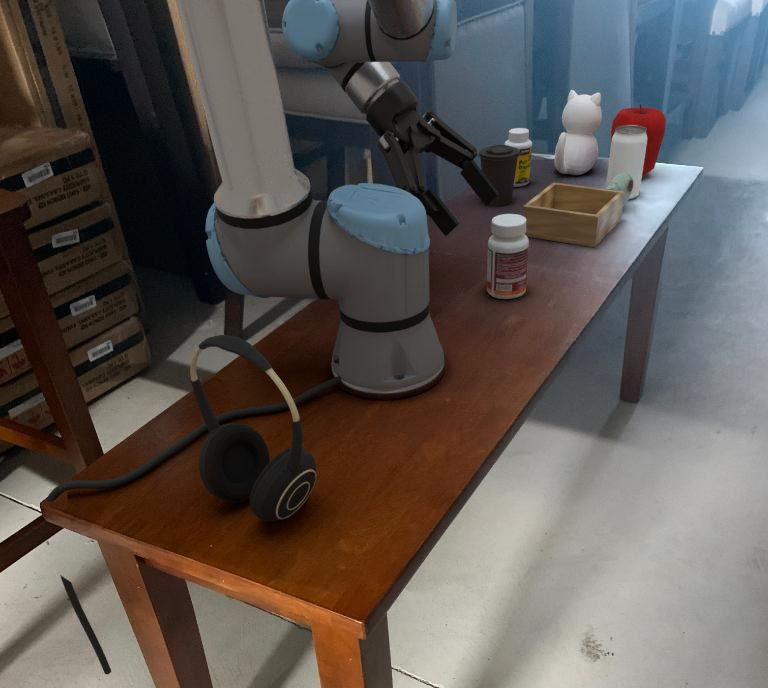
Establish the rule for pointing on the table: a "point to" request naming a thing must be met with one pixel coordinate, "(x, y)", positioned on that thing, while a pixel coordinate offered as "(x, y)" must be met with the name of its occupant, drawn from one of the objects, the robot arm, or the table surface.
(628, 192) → the green rounded faceted piece
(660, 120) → the apple
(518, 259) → the pill bottle
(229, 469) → the headphones
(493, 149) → the coffee cup
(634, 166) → the can
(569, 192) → the holder
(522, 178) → the supplement bottle
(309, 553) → the table surface
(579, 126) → the cat figurine
